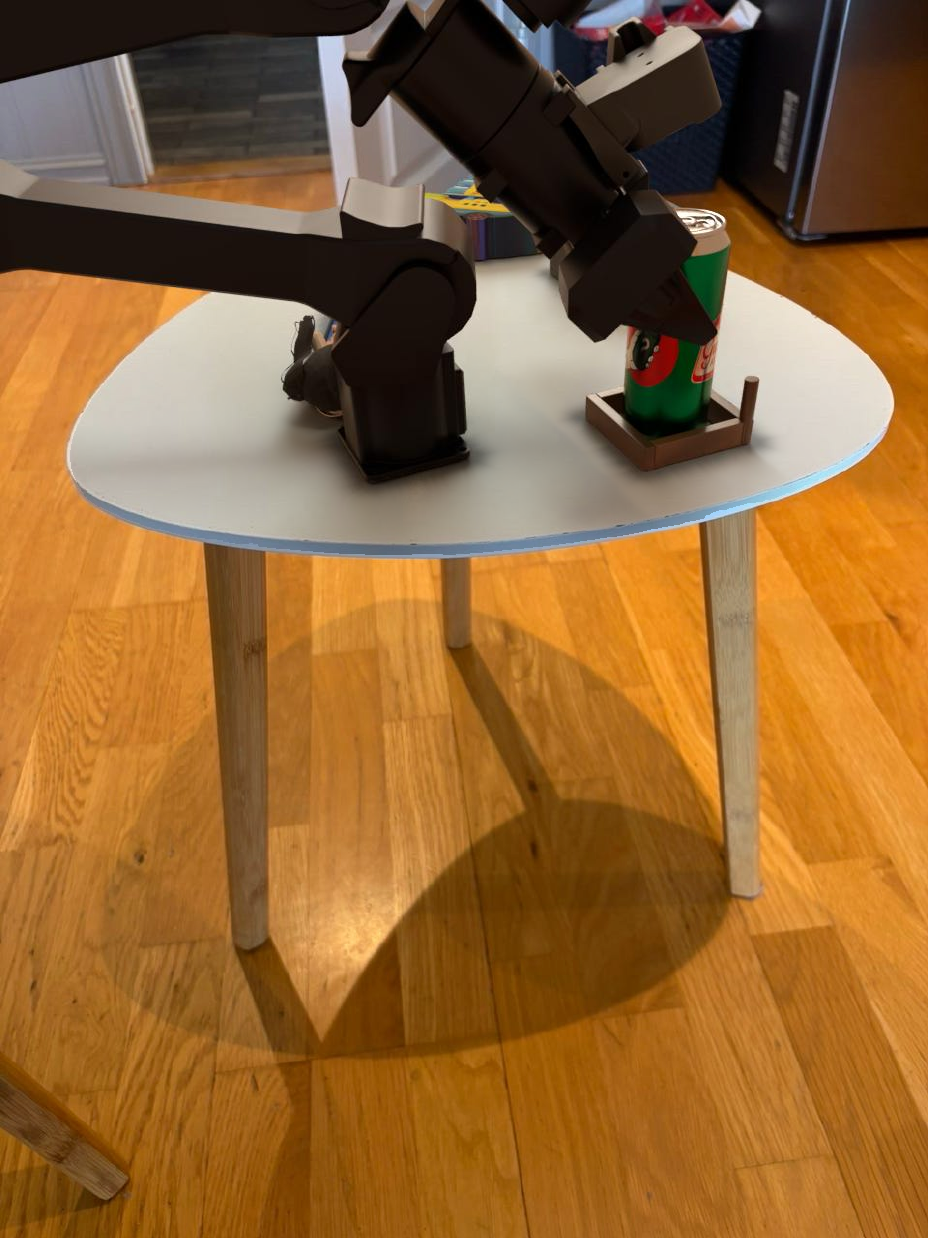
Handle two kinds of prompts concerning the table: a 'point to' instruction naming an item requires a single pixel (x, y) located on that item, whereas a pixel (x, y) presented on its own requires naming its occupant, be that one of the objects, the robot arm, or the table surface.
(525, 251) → the toy
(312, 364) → the toy figure
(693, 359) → the soda can
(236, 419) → the table surface
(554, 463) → the table surface
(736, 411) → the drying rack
